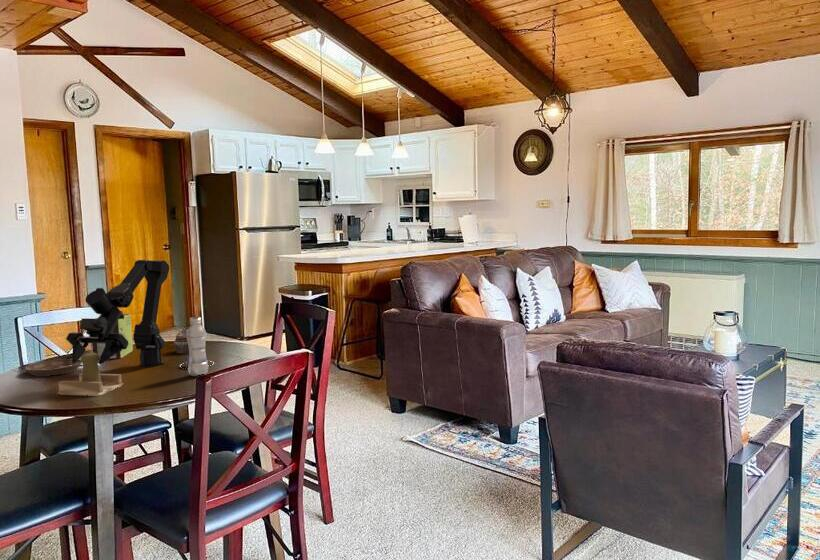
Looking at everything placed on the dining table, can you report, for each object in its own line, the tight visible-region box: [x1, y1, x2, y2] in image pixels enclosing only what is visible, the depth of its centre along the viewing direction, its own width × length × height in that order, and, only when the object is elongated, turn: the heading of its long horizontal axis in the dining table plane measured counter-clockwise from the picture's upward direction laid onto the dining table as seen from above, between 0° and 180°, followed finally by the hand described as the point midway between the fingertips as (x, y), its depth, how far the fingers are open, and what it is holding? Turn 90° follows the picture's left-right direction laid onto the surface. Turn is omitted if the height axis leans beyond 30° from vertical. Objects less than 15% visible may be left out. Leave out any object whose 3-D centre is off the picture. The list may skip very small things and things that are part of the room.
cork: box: [80, 352, 102, 382], centre depth 194 cm, size 6×6×11 cm
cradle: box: [57, 373, 124, 397], centre depth 194 cm, size 12×14×4 cm
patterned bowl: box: [179, 354, 215, 370], centre depth 224 cm, size 12×12×5 cm
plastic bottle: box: [186, 316, 209, 377], centre depth 208 cm, size 6×7×20 cm
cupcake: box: [173, 326, 190, 354], centre depth 248 cm, size 10×10×10 cm
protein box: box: [91, 313, 134, 360], centre depth 244 cm, size 10×15×16 cm
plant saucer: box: [24, 358, 82, 377], centre depth 219 cm, size 18×18×3 cm
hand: (86, 363), depth 192 cm, fingers open, 9 cm apart
